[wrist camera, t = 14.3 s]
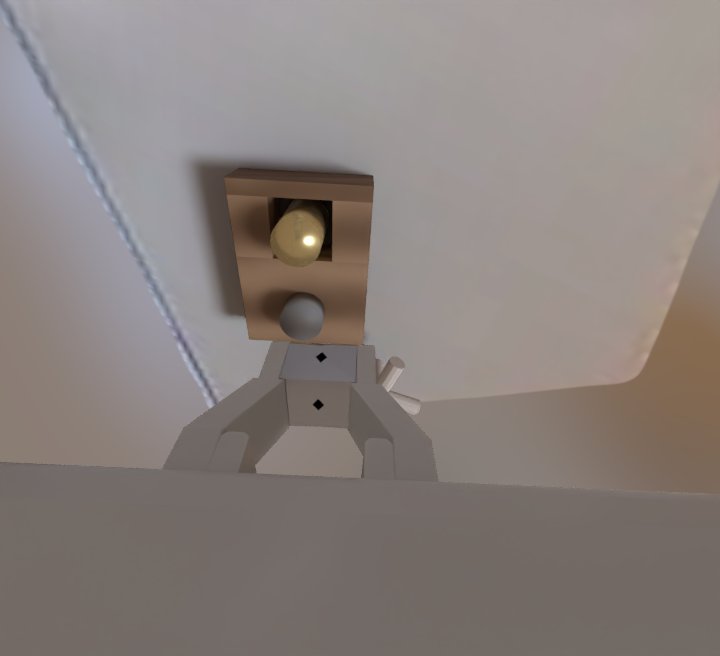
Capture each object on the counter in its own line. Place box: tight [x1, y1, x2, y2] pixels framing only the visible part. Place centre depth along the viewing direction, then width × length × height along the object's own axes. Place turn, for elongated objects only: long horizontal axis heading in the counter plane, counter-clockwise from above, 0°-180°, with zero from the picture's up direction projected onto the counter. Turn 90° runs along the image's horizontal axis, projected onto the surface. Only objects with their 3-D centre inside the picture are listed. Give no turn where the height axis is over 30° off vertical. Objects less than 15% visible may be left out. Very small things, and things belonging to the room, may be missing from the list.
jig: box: [224, 168, 374, 345], centre depth 33 cm, size 16×12×6 cm
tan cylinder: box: [270, 199, 329, 267], centre depth 31 cm, size 4×4×7 cm
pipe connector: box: [375, 357, 420, 415], centre depth 40 cm, size 10×10×10 cm
